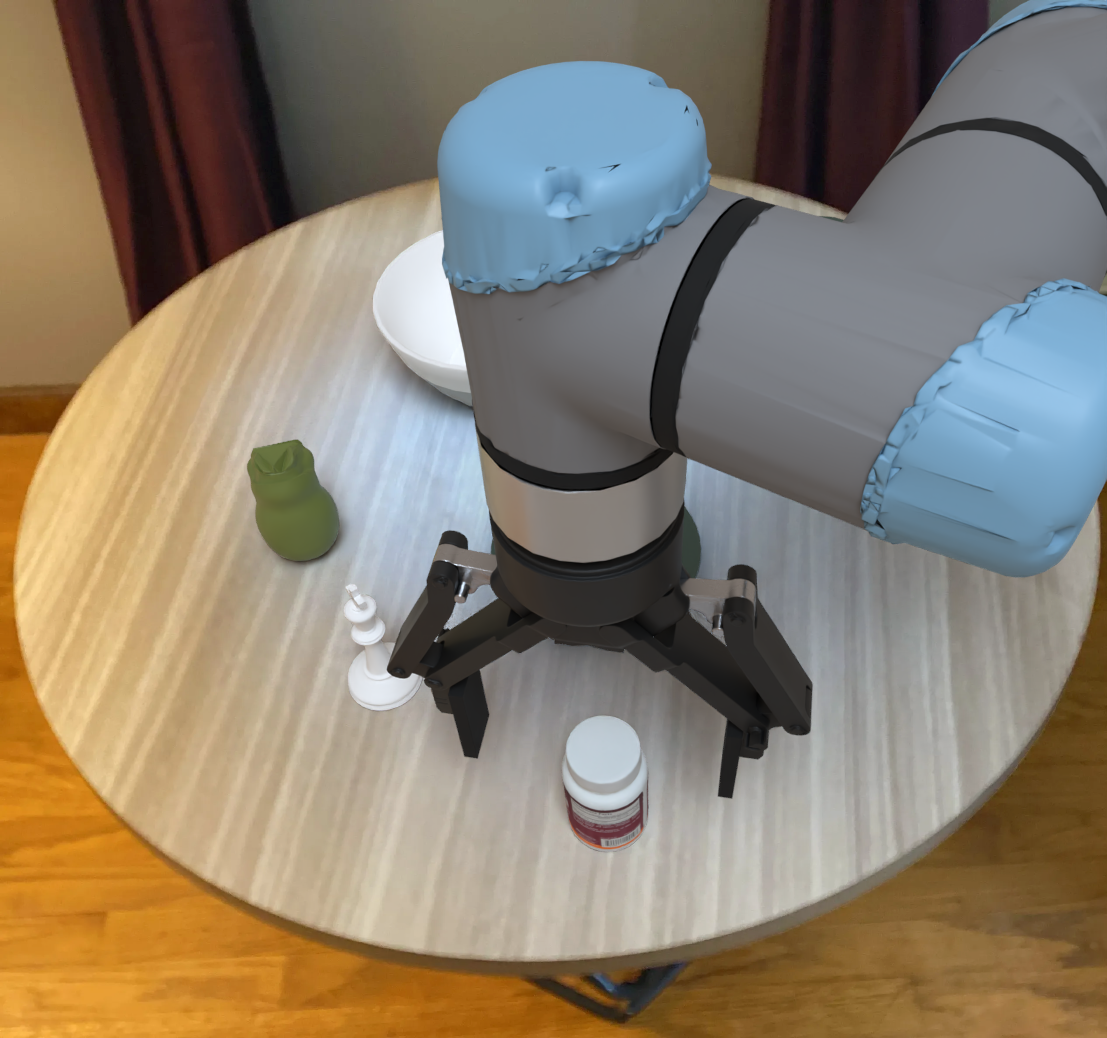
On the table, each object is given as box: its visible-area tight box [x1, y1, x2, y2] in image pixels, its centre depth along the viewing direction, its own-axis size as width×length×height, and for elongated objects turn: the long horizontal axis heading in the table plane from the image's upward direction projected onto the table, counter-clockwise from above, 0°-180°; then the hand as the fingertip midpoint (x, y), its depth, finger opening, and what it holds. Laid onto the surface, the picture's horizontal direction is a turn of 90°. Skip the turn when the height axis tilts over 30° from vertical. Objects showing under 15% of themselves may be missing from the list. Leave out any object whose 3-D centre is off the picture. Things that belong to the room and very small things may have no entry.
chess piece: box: [342, 583, 423, 712], centre depth 64 cm, size 5×5×10 cm
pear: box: [246, 439, 340, 562], centre depth 72 cm, size 6×5×10 cm
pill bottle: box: [560, 714, 650, 853], centre depth 58 cm, size 5×5×8 cm
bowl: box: [372, 229, 472, 408], centre depth 84 cm, size 19×19×8 cm
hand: (599, 754), depth 55 cm, fingers open, 13 cm apart
